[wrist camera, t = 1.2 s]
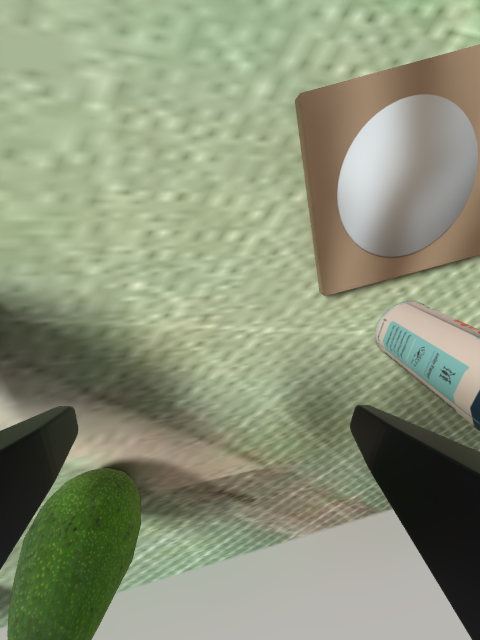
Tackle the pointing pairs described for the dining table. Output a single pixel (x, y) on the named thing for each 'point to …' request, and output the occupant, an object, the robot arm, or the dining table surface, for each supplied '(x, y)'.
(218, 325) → the dining table surface
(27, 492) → the robot arm
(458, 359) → the beer can
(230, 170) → the dining table surface
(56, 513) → the avocado
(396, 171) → the plate
